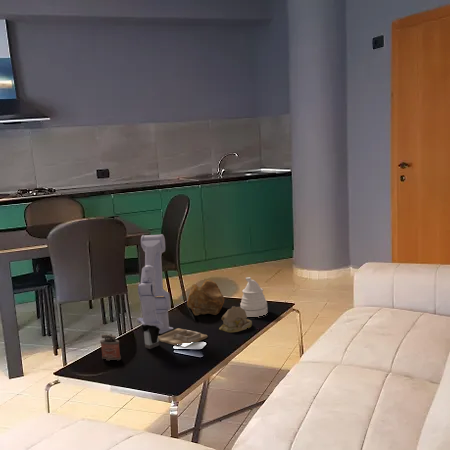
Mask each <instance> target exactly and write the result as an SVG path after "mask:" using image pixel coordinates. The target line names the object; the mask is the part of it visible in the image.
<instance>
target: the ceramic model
mask: <svg viewBox="0 0 450 450" xmlns="http://www.w3.org/2000/svg"><path fill="white" fill-rule="evenodd" d="M221 320H222V321H223V324H222V325H221V326H220V327H219V328H218V330H220V331H223V332H225V333H238V332H241V331H244V330H248V329H250V328H251V327H252V325H253V320H251V319H249V318H247V315H246V312H245V310H244V309H242V308H241V306H235V305H232V306H231V308H229V309H227V311H226V312H225V313H224V314H223V315H222V317H221ZM247 328H248V329H247Z"/></svg>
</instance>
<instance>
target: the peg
mask: <svg viewBox="0 0 450 450" xmlns="http://www.w3.org/2000/svg"><path fill="white" fill-rule="evenodd" d="M143 336H144V337H143V338H144V348H145V349H149V350H151V349H154V348H155V347H156V348H157V347H159V346H160V341H159V338H158V339H157V342H156V343H154V344H153V343H152V340H151V335H150V332H149V330H146V331H144V333H143Z"/></svg>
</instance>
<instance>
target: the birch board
mask: <svg viewBox="0 0 450 450" xmlns="http://www.w3.org/2000/svg"><path fill="white" fill-rule="evenodd" d="M158 338H159V342H160V343H161V342H162V343H165V344H169V345H174V346H176V345H177V344H182V343H191V342H196V343H198V342H201V341H203V340H205V339H207V338H208V335H207V334H204V333H201V332H198V331H194V330H189V329H184V328H179V327H178V328H175V329H172V330H169V331H167V332H164V333H162V334H160V335H158Z"/></svg>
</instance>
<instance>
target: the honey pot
mask: <svg viewBox="0 0 450 450" xmlns="http://www.w3.org/2000/svg"><path fill="white" fill-rule="evenodd" d="M245 280H246V282H247V284H245V287H244V289H242V296H241V302H240V303H239V304H240V307H241V308H242V309H244V310H245V312H246V315H247V317H258V318H260V317H259V316H263V315H265V316H267V315H268V314H267V313H268V312H269V310H268V301H267V300H266V297H265V294H264V293H263V292H264V289H263V288H262V287H261V286H260V284H259V283H258V282H257V281H256V280H255V279H252V276H251V277H250V276H249V277H248V276H247V277H245ZM266 314H267V315H266ZM263 317H264V316H263Z"/></svg>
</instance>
